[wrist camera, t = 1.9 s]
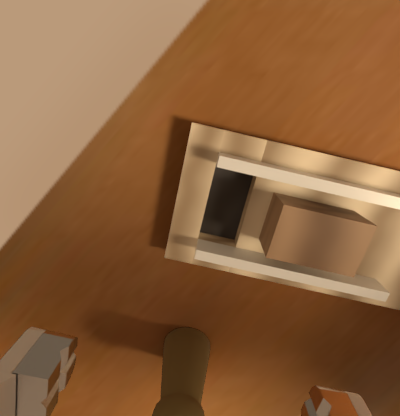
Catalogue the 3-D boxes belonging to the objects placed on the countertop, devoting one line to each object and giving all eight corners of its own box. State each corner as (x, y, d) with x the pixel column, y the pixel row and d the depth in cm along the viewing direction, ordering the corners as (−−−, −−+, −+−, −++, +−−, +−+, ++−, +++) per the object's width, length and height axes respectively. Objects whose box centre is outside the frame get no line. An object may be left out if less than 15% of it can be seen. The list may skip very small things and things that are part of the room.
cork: (162, 361, 36) (141, 460, 25) (165, 324, 34) (144, 415, 24) (207, 367, 36) (205, 469, 25) (213, 330, 34) (213, 424, 23)
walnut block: (354, 210, 26) (377, 226, 22) (334, 255, 28) (353, 277, 24) (273, 192, 26) (283, 204, 22) (258, 238, 28) (265, 257, 24)
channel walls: (415, 198, 26) (436, 206, 23) (371, 286, 29) (385, 301, 26) (219, 152, 25) (219, 155, 23) (195, 247, 28) (194, 259, 26)
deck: (525, 200, 27) (549, 206, 25) (454, 313, 31) (469, 325, 30) (193, 122, 26) (191, 122, 24) (167, 249, 31) (164, 257, 29)
